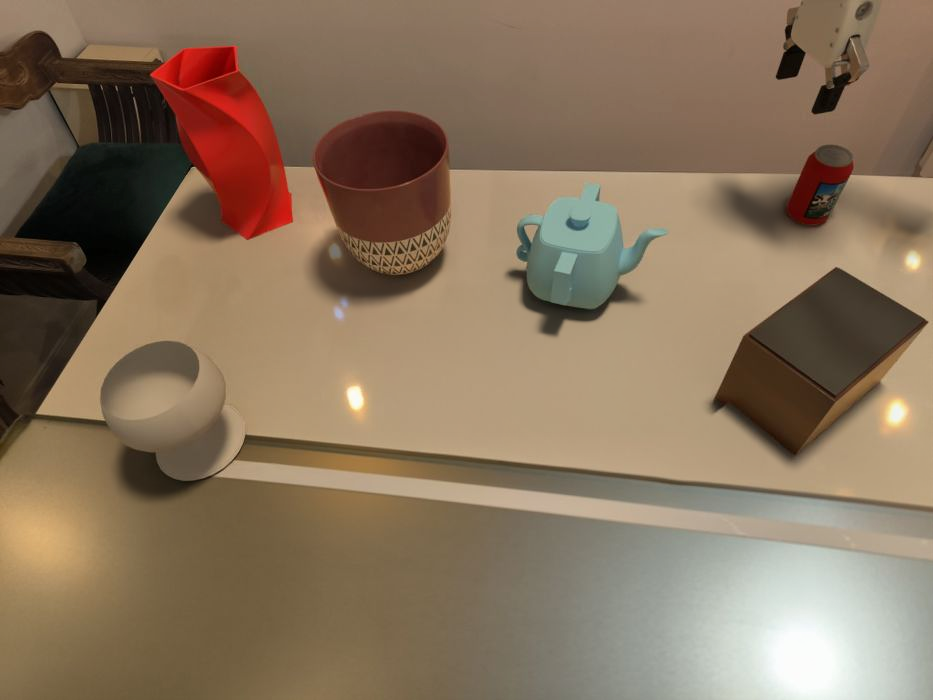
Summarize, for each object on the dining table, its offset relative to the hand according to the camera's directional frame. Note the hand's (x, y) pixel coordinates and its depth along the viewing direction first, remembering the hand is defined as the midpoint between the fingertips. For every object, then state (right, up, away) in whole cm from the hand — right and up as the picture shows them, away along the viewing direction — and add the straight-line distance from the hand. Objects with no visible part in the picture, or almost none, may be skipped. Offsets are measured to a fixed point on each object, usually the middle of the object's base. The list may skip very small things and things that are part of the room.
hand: (803, 94), depth 87 cm
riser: (-4, -43, -5) cm, 43 cm away
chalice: (-85, -49, -4) cm, 98 cm away
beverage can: (+9, -14, +16) cm, 24 cm away
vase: (-87, -12, +26) cm, 92 cm away
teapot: (-30, -26, +10) cm, 41 cm away
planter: (-59, -21, +16) cm, 65 cm away
